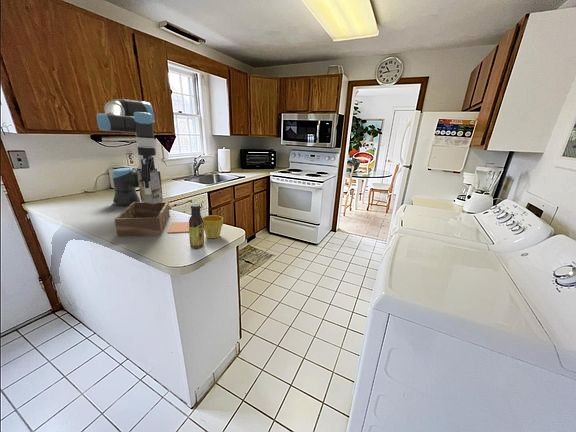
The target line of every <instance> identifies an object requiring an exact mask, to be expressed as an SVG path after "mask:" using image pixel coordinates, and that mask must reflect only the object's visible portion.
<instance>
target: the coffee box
mask: <svg viewBox="0 0 576 432" xmlns="http://www.w3.org/2000/svg"><path fill="white" fill-rule="evenodd" d="M137 175H138V182H139V188H138V189H139V195H140V196H139V198H140V202H146V203H150V204H156V203H160V202H164V199H163V189H162V176H161V171H160V170H159V171H154V170H150V172H149V176H150V183H151V193H152V194H145V189H144V181H141V180H142V170H138V171H137Z"/></svg>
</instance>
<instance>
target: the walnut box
mask: <svg viewBox="0 0 576 432" xmlns="http://www.w3.org/2000/svg"><path fill="white" fill-rule="evenodd" d="M170 214H171V213H170V204H169V201H163V202H160V203H156V204H150V203H146V202H141V201H140V202H133V203H131V204H130V205H129V206H126V208H125V209H124V210H123V211H122V212H120V214H119V215H117V216H116V217H115V218H114V225H115V229H116V237H118V238H121V237H123V238H125V237H147V236H148V237H149V236H150V237H152V236H162V233H163V232H164V229H165V227H166V226H167V222H169V219H170Z"/></svg>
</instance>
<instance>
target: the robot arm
mask: <svg viewBox="0 0 576 432" xmlns="http://www.w3.org/2000/svg"><path fill="white" fill-rule="evenodd" d="M103 109H104V113H97V114H96V121H97V122H96V123H97V127H98V129H99V130H100V131H107V132H119V133H120V132H121V133H132V134H133V133H134V134H135V142H136V148H137V157H138V165H137V167H136V169H134V168H133V167H121V168H115V169H113V170H112V172H111V173H112V177H111V178H112V181H113V182H112V183H113V188H114V196H113V200H112V205H114V206H116V207H117V206H118V207H128V206H129V205H130V204H131V203H133V202H141V197H140V196H139V195H138V193H137V191H136V189H137V188H138V189H139V182H138V175H137V171H138V170H142V180H141V181H144V189H145V194H152V193H151V183H150V176H149V172H150V170H154V171H160V170H159V169H158V167H157V166H155V157H154V156H156V155H157V154H156V153H157V152H156V148H155V147H156V142H155V141H156V140H155V132H154V131H155V130H154V123H155V122H156V118H155V114H154V109H153V106H152V104H151V103H150V102H147V101H144V100H134V99H128V98H127V99H126V98H116V99H111V100H109V101H107V102H106V103H105V104H104V108H103Z"/></svg>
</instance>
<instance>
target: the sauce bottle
mask: <svg viewBox="0 0 576 432" xmlns="http://www.w3.org/2000/svg"><path fill="white" fill-rule="evenodd" d="M201 209H202V207H201V204H198V203H197V204H196V203H195V204H191V205H190V211H191V212H190V213H191V214H190V217H189V219H188V222H189V232H188V233H189V235H188V236H189V246H190V248H191V249H192V250H193V249H194V250H198V249H201V248H203V247H205V231H204V222H203V219H202V218H203V217H202V214H201Z"/></svg>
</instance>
